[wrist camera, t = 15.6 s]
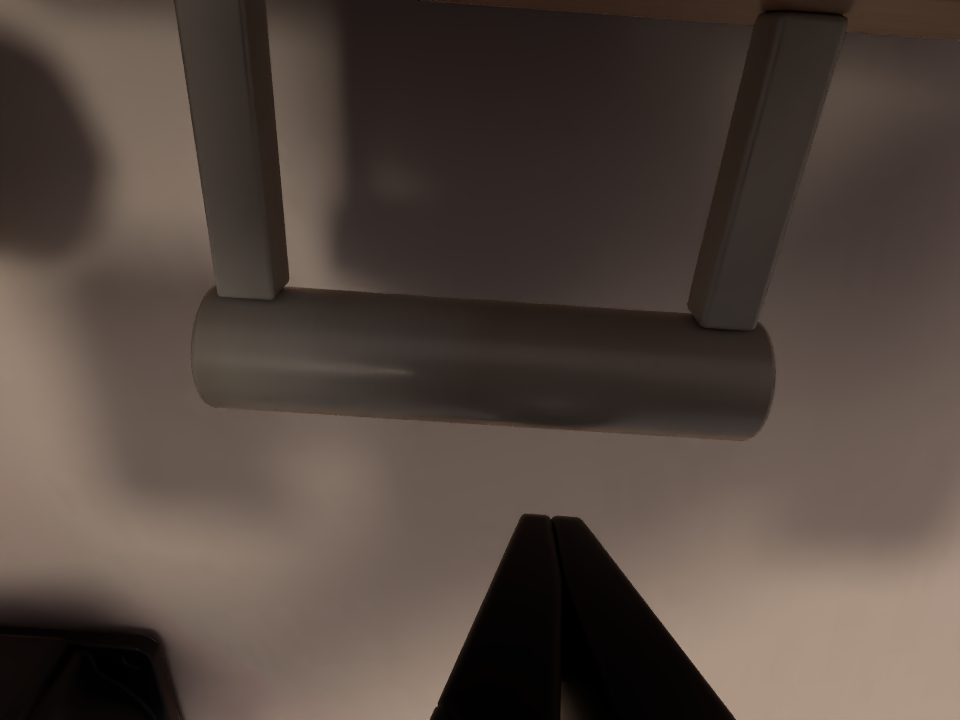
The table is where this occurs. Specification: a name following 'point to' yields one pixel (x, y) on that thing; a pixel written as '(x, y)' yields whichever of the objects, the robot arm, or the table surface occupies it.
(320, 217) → the table surface
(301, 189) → the table surface
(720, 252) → the drawer
